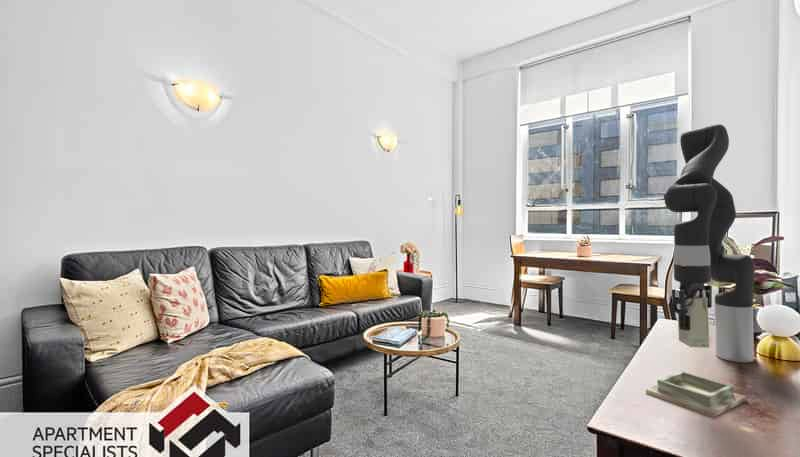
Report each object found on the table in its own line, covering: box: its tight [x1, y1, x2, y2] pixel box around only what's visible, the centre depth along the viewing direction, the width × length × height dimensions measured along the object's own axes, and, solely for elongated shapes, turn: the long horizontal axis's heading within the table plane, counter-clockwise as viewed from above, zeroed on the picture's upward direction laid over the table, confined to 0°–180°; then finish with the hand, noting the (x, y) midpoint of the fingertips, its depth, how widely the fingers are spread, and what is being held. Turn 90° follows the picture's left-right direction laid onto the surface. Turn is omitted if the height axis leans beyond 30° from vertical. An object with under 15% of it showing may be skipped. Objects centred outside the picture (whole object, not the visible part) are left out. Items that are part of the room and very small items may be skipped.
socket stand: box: [645, 370, 747, 418], centre depth 100 cm, size 16×15×4 cm
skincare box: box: [677, 297, 710, 349], centre depth 100 cm, size 6×4×12 cm
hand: (692, 327), depth 100 cm, fingers closed on skincare box, 7 cm apart
